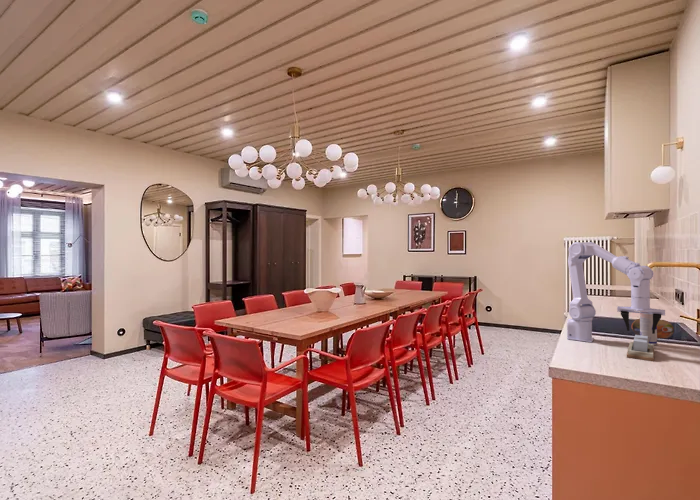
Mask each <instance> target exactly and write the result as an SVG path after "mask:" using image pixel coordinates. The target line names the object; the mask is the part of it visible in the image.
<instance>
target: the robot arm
mask: <svg viewBox="0 0 700 500" xmlns="http://www.w3.org/2000/svg"><path fill="white" fill-rule="evenodd" d="M593 256H596V257H598V258H600V259H601V260H604V261H606V262H609V263H611V266H612V268H613V269H616V270H617V271H619V272H620V273H623V275H626V276H627V277H628V279H629V281H630V289H631V290H630V295H631V296H630V304H631V305H630V306H618V305H617V306H616V307H617V308H616V310H617V312H618V313H619V312H620V316H621V317H622V319H623V322H624V323H625V327H626V331H627V332H630V313H633V314H640V313H643V314H653V328H652V334H655V329H656V326H657V324H658V322H659V320H662V319H661V318H662V316H666V309H662V308H661V309H660V308H659V309H658V308H653V307H652V308H651V285H650V283H651V280H652V278H653V277H654V271H653V270H652V268H651V267H650V266H648V265H641V263H640V262H635V261H633V260H631V259H629V256H627V255H620V256H617V255H616V254H613V253H612V252H610V251H608V250H607V249H605V248H603V247H602V246H600V245H599V244H597V243H595V242H593V241H585V242H584V241H583V242H580V241H579V242H578V241H575V242H572V244H571V245H569V247H568V258H567V264H568V270H569V278H570V284H571V285H570V286H571V291H572V296H573V299H572V300H571V301H570V302H569V309H568V314H569V316H570V318H568V319H567V322H566V327H567V328H566V331H567V333H566V336H567V337H566V339H567V340H571V341H572V340H573V341H580V342H587V343H588V342H589V343H593V341H594V340H595V338H594V337H593V322H592V321H593V320H594V319H593V318H595V316H596V314H597V310H596V308H595V307H594V305H593V301H592V300H590V298H588V292H587V286H586V285H587V284H586V279H585V273H584V265H583V263H585V262H586V260H588V259H589V258H591V257H593ZM640 311H641V312H640Z"/></svg>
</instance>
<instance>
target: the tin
mask: <svg viewBox="0 0 700 500" xmlns="http://www.w3.org/2000/svg"><path fill="white" fill-rule="evenodd" d="M631 329H632V332H633V333H634V334H635V335H640V318H637V319H635V320H634V321H633V322H632V323H631ZM674 333H675V327H674V326H673V324H672V323H671V322H669V321H668V320H665V319H660V320H659V322H658V324H657V339H669V338H670V337H672V336H673V334H674Z"/></svg>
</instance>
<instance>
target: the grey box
mask: <svg viewBox="0 0 700 500" xmlns="http://www.w3.org/2000/svg"><path fill="white" fill-rule="evenodd" d="M632 342H634V351H640V352H648V336H641V335H636V334H635V335H634V338H633V341H632Z"/></svg>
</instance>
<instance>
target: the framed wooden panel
mask: <svg viewBox="0 0 700 500" xmlns="http://www.w3.org/2000/svg"><path fill="white" fill-rule="evenodd" d="M626 358H629V359H634V360H635V359H636V360H640V361H641V360H642V361H648V362H655V347H654V345H652V344H648V352H640V351H634V342H633V341H629V345H628V348H627V352H626Z"/></svg>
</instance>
